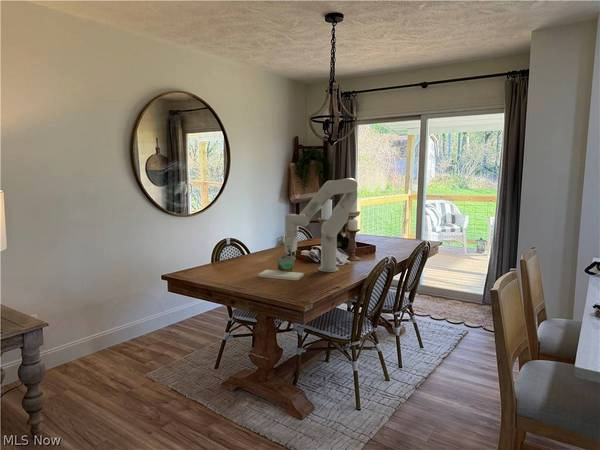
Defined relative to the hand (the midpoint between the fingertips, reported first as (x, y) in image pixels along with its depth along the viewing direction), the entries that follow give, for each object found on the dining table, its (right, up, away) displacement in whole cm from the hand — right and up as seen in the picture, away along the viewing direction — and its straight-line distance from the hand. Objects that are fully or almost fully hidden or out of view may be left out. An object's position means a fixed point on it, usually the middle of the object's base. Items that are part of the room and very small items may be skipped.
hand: (291, 262), depth 256 cm
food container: (-3, -6, -8) cm, 10 cm away
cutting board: (-6, -7, -16) cm, 18 cm away
